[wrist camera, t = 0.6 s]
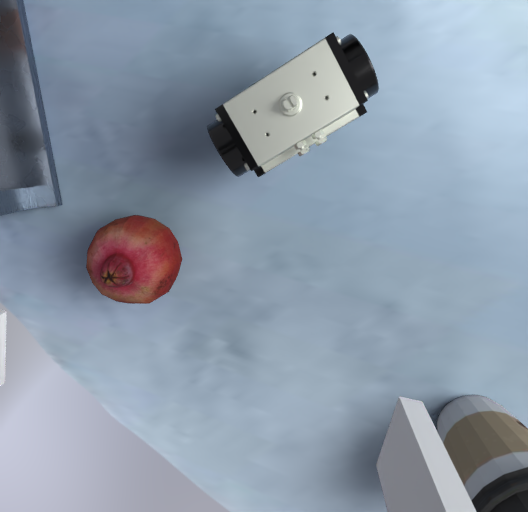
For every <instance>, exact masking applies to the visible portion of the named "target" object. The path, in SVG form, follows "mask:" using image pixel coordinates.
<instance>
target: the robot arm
mask: <svg viewBox="0 0 528 512" xmlns="http://www.w3.org/2000/svg"><path fill="white" fill-rule="evenodd" d="M6 313H7V312H6V311H4V310H0V386H2V385H3V384H4V383H5V361H6V360H5V359H6V357H5V356H6V315H7V314H6ZM376 467H377V471H378V475H379V479H380V483H381V487H382V491H383V495H384V499H385V503H386V507H387V511H388V512H477V511H476V509H475V507H474V505H473V503H472V501H471V499H470V497H469V495H468V493H467V491H466V489H465V487H464V485H463V483H462V481H461V479H460V477H459V475H458V473H457V471H456V469H455V467H454V465H453V463H452V461H451V459H450V457H449V455H448V452H447V450H446V448H445V446H444V444H443V442H442V440H441V438H440V436H439V434H438V432H437V430H436V428H435V426H434V424H433V422H432V420H431V418H430V416H429V414H428V412H427V410H426V408H425V406H424V404H423V402H422V401H418V400H413V399H409V398H404V397H399V398H398V401H397V404H396V407H395V410H394V413H393V416H392V419H391V422H390V425H389V428H388V431H387V434H386V437H385V440H384V443H383V445H382V448H381V451H380V454H379V457H378V460H377V463H376Z"/></svg>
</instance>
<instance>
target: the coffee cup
mask: <svg viewBox="0 0 528 512" xmlns="http://www.w3.org/2000/svg"><path fill="white" fill-rule="evenodd" d="M437 432H438V434H439V436H440V438H441V440H442V442H443V444H444V446H445V448H446V450H447V452H448V455H449V457H450V459H451V461H452V463H453V465H454V467H455V469H456V471H457V473H458V475H459V477H460V479H461V481H462V483H463V485H464V487H465V489H466V491H467V493H468V495H469V497H470V499H471V501H472V503H473V505H474V507H475V509H476V511H477V512H528V428H526V427H525V426H524V425H523V424H522V423H521V422H520V421H519V420H517V419H516V418H515V417H514V416H513V415H512V414H511V413H510V412H508V411H507V410H506V409H505V408H504V407H503V406H502V405H500V404H498V403H496V402H494V401H493V400H491V399H489V398H487V397H484V396H479V395H467V396H462V397H460V398H457V399H454V400H453V401H451V402H450V403H448V404H447V405H446V406H445V407H444V408H443V410H442V411H441V412H440V414H439V417H438V420H437Z"/></svg>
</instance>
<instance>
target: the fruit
mask: <svg viewBox="0 0 528 512" xmlns="http://www.w3.org/2000/svg"><path fill="white" fill-rule="evenodd" d="M181 262H182V257H181V253H180V248H179V244H178V241H177V240H176V238H175V236H174V235H173V233H172V232H171V230H170V229H169V228H168V227H166V226H165V225H163V224H162V223H160V222H159V221H157V220H155V219H152V218H148V217H144V216H139V215H133V216H129V217H124V218H120V219H116V220H114V221H112V222H111V223H109V224H107V225H106V226H104V227H102V228H100V229H99V230H98V231H97V232H96V234H95V236H94V238H93V240H92V242H91V244H90V246H89V249H88V252H87V266H86V268H87V271H88V273H89V275H90V278H91V280H92V283H93V284H94V285H95V287H96V288H97V289H98V290H99V291H100V293H101V294H102V295H105V296H107V297H109V298H111V299H113V300H115V301H118V302H124V303H151V302H152V301H154V300H156V299H157V298H159V297H161V296H162V295H164V294H166V293H167V292H169V290H170V289H171V287H172V285H173V283H174V281H175V280H176V278H177V275H178V273H179V269H180V265H181Z"/></svg>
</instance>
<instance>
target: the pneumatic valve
mask: <svg viewBox="0 0 528 512" xmlns="http://www.w3.org/2000/svg"><path fill="white" fill-rule="evenodd" d="M378 89H379V86H378V80H377V77H376V73H375V71H374V68H373V65H372V63H371V61H370V59H369V57H368V55H367V53H366V51H365V49H364V48H363V46H362V45H361V43H360V42H359V41H358V39H357V38H356V37H355V36H353V35H351V34H349V35H347V36H346V37H344V38H343V39H341V40H340V38H339V37H338V36H337V37H336V36H335V34H334V33H331V34H330V35H328V36H327V37H325V38H324V39H322V40H321V41H319V42H318V43H316V44H314V45H313V46H311V47H310V48H308V49H307V50H305V51H304V52H302V53H301V54H299V55H298V56H296V57H295V58H293V59H291V60H290V61H288V62H287V63H285V64H284V65H282V66H281V67H279V68H278V69H276V70H275V71H273V72H271V73H270V74H268V75H267V76H265V77H264V78H262V79H261V80H259V81H258V82H256V83H255V84H253V85H252V86H250V87H248V88H247V89H245V90H244V91H242V92H241V93H239V94H238V95H236V96H235V97H233V98H232V99H230V100H228V101H227V102H225V103H224V104H222V105H221V106H219V107H218V108H216V109H215V110H216V112H217V113H218V114H216V115H215V117H216V119H217V120H216V121H214V122H212V123H211V124H209V125H208V126H207V129H208V133H209V135H210V138H211V140H212V142H213V144H214V145H215V147H216V149H217V151H218V153H219V154H220V156H221V157H222V159H223V160H224V162H225V163H226V165H227V166H228V168H229V169H230V170H231V171H232V172H233V174H234V175H236V176H237V177H239V176H241V175H243V174H244V173H246V172H248V171H249V170H251V171H253V170H254V171H255V173H256V174H257V176H258V177H260V176H261V175H263V174H265V173H266V172H268V171H270V170H271V169H273V168H275V167H276V166H278V165H280V164H281V163H283V162H285V161H286V160H288V159H290V158H291V157H293V156H295V155H296V154H298V155H299V156H302V155H303V154H305V153H307V152H308V151H310V149H309V147H310V146H311V145H313V144H316V145H317V146H318V145H320V144H322V143H324V142H325V141H327V137H326V136H328V135H330V134H331V133H333V132H335V131H336V130H338V129H340V128H341V127H343V126H345V125H346V124H348V123H350V122H351V121H353V120H355V119H356V118H358V117H360V116H361V115H363V114H365V113H366V112H367V111H366V109H365V107H364V105H363V104H364V103H365V102H367V101H368V100H367V99H368V98H370V97H371V96H373V95H375V94H376V93H377V92H378Z"/></svg>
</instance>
